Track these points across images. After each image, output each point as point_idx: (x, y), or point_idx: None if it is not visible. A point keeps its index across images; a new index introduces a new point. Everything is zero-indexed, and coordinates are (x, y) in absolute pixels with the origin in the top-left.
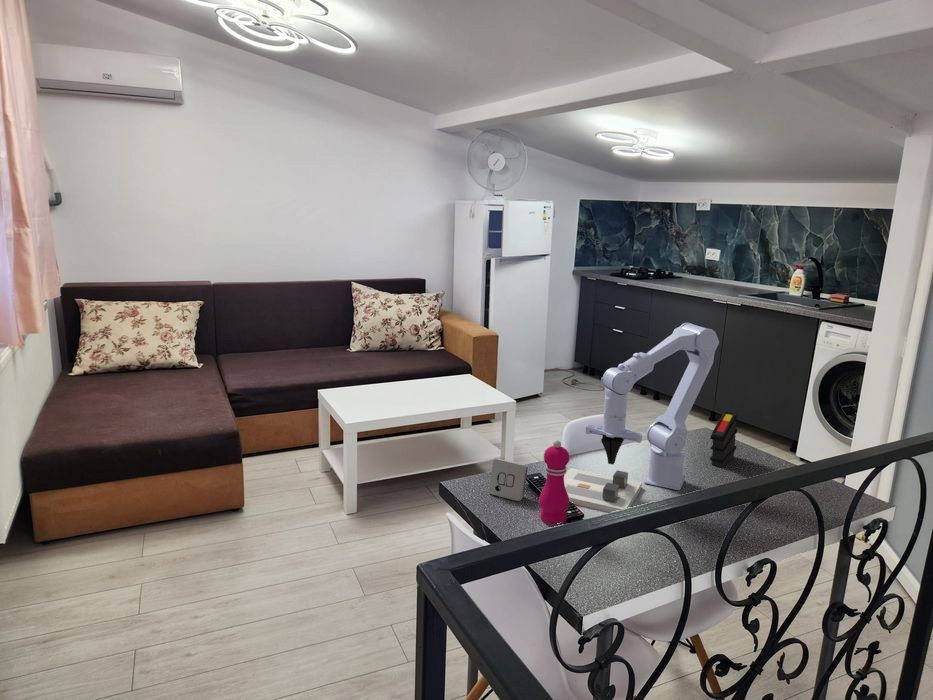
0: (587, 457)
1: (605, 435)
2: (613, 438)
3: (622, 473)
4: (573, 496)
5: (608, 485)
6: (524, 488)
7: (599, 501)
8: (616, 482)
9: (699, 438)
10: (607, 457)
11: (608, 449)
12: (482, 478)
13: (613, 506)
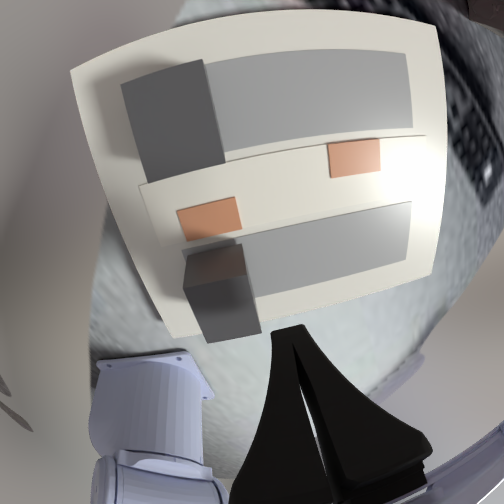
0: (387, 363)
1: (404, 494)
2: (333, 489)
3: (222, 323)
4: (346, 27)
5: (196, 126)
6: (488, 24)
7: (211, 46)
8: (223, 258)
9: (227, 471)
10: (320, 352)
11: (335, 408)
12: None
13: (126, 51)
